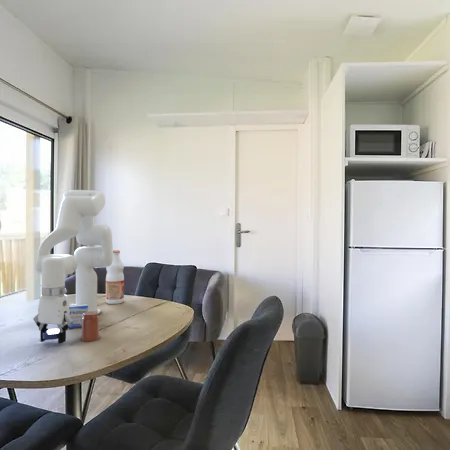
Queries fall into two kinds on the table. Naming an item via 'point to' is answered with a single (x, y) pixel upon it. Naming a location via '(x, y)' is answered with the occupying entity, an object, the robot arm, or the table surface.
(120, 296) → the fruit juice
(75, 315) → the medicine box
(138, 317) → the table surface
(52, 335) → the jam lid
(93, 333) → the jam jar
